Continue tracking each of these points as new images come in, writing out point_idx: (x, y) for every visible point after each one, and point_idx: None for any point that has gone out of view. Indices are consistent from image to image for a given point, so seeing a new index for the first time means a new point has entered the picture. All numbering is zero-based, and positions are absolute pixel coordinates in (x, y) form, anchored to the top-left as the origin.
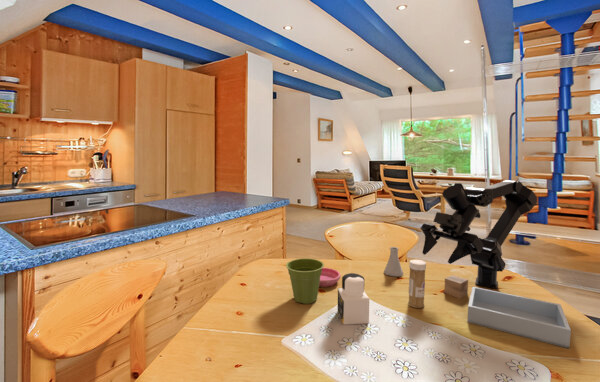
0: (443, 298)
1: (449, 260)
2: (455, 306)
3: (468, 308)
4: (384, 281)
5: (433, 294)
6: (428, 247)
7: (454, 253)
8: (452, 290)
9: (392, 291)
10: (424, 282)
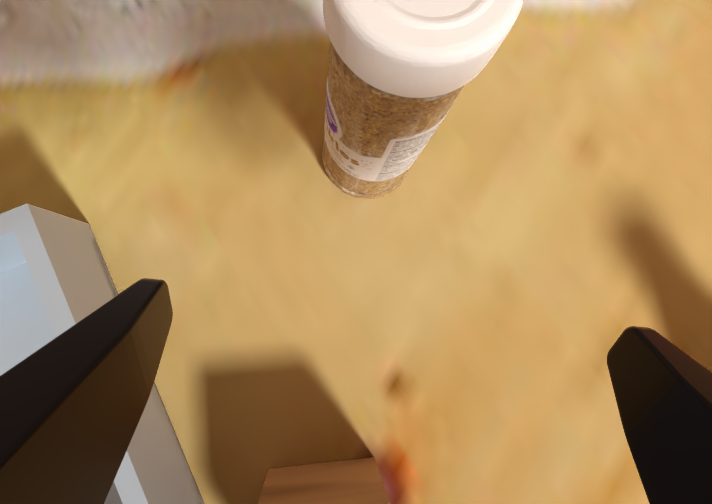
0: (328, 375)
1: (130, 286)
2: (225, 339)
3: (36, 208)
4: (687, 260)
5: (397, 371)
6: (700, 489)
7: (2, 395)
8: (319, 477)
9: (556, 185)
10: (330, 107)
